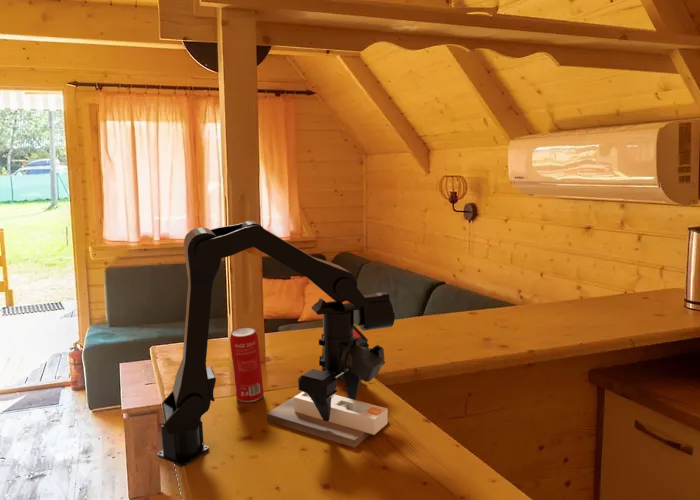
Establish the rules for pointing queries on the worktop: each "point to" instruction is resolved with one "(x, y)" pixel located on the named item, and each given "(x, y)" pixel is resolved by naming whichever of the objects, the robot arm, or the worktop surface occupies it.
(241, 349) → the beverage can
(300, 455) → the worktop surface
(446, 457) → the worktop surface
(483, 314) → the worktop surface
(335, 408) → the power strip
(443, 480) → the worktop surface
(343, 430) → the peg board
